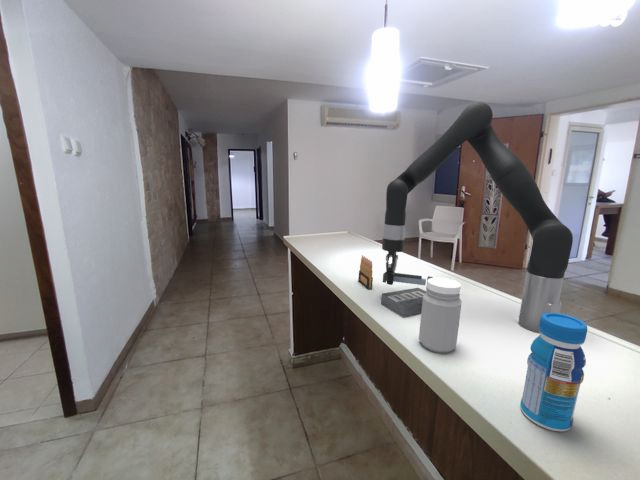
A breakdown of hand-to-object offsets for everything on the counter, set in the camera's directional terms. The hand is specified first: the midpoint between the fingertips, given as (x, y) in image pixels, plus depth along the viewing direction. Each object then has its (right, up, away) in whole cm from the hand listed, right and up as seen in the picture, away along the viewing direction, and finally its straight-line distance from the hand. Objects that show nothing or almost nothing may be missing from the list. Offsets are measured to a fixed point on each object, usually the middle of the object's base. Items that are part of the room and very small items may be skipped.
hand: (389, 283), depth 114 cm
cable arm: (+5, 0, +2) cm, 6 cm away
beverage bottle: (+18, -18, -54) cm, 59 cm away
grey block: (+7, -8, -3) cm, 11 cm away
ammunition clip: (-7, -3, +18) cm, 19 cm away
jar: (+6, -13, -28) cm, 32 cm away
